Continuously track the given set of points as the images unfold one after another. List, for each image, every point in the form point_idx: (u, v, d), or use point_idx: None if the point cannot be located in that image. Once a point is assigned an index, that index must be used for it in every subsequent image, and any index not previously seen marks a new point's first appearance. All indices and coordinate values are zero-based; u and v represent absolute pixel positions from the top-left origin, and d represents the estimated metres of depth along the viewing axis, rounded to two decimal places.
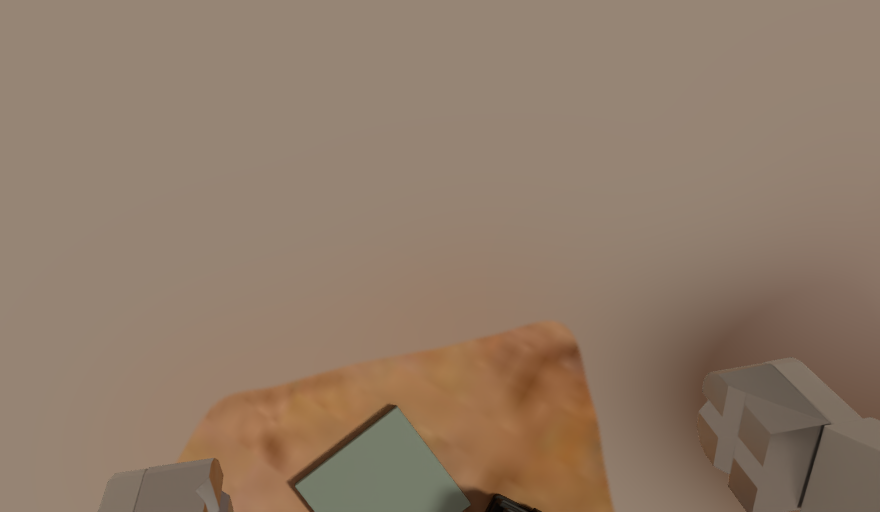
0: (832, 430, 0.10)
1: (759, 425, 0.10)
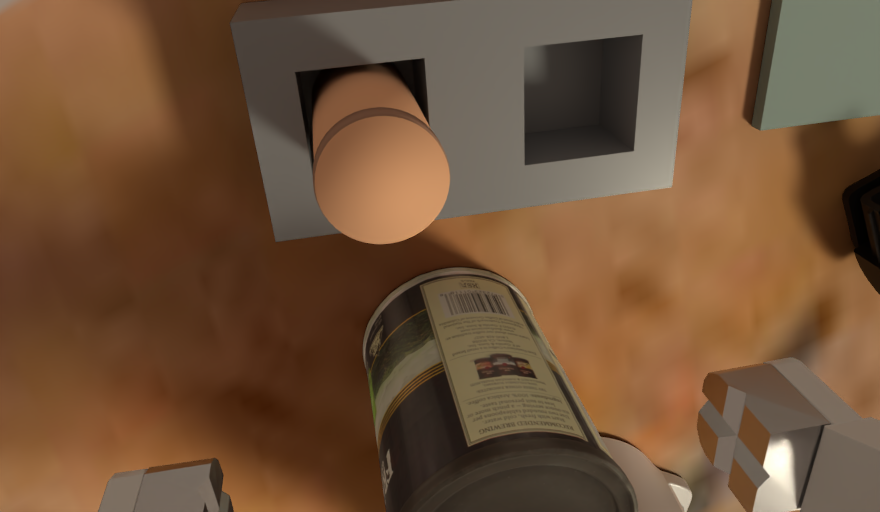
0: (832, 430, 0.10)
1: (759, 425, 0.10)
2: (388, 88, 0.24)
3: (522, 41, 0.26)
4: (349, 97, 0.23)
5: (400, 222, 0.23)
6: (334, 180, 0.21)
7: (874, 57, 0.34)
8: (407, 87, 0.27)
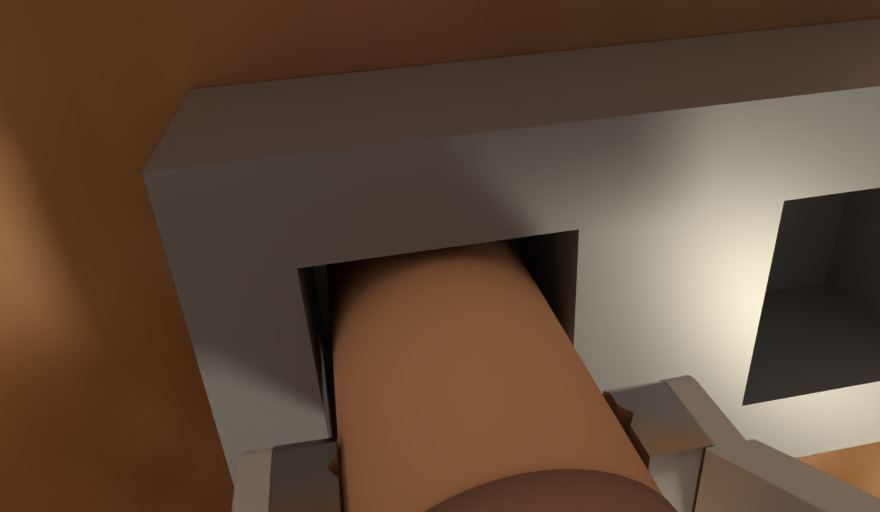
0: (713, 453, 0.09)
1: (642, 447, 0.10)
2: (520, 330, 0.10)
3: (783, 189, 0.12)
4: (434, 375, 0.09)
5: None
6: None
7: None
8: (528, 272, 0.13)
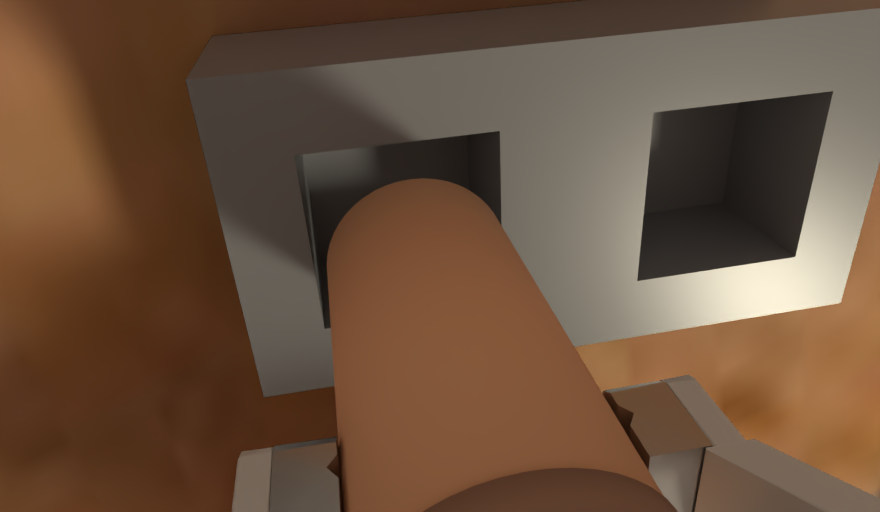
0: (713, 453, 0.09)
1: (642, 447, 0.10)
2: (520, 329, 0.10)
3: (652, 103, 0.17)
4: (434, 375, 0.09)
5: None
6: None
7: None
8: (528, 272, 0.13)
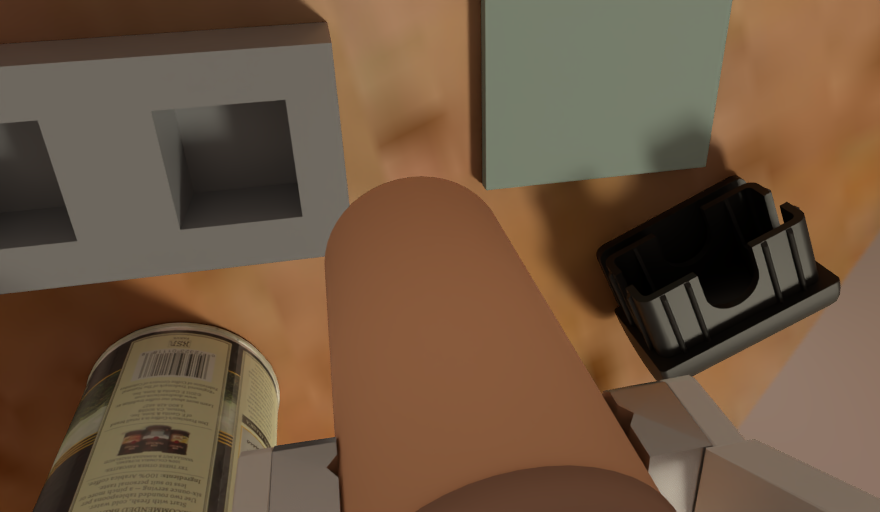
0: (713, 453, 0.09)
1: (642, 447, 0.10)
2: (517, 327, 0.10)
3: (147, 105, 0.25)
4: (431, 372, 0.09)
5: None
6: None
7: (598, 119, 0.33)
8: (526, 270, 0.13)
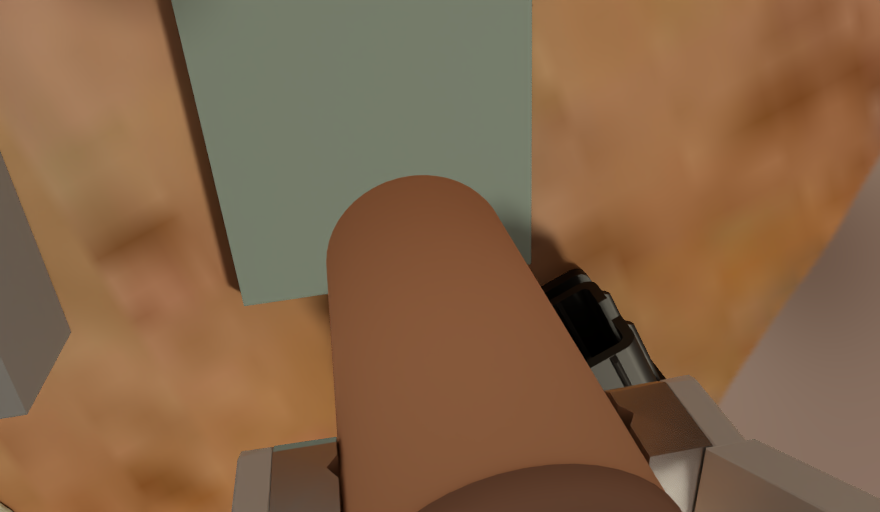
0: (713, 452, 0.09)
1: (642, 447, 0.10)
2: (520, 325, 0.10)
3: None
4: (434, 371, 0.09)
5: None
6: None
7: None
8: (528, 268, 0.13)
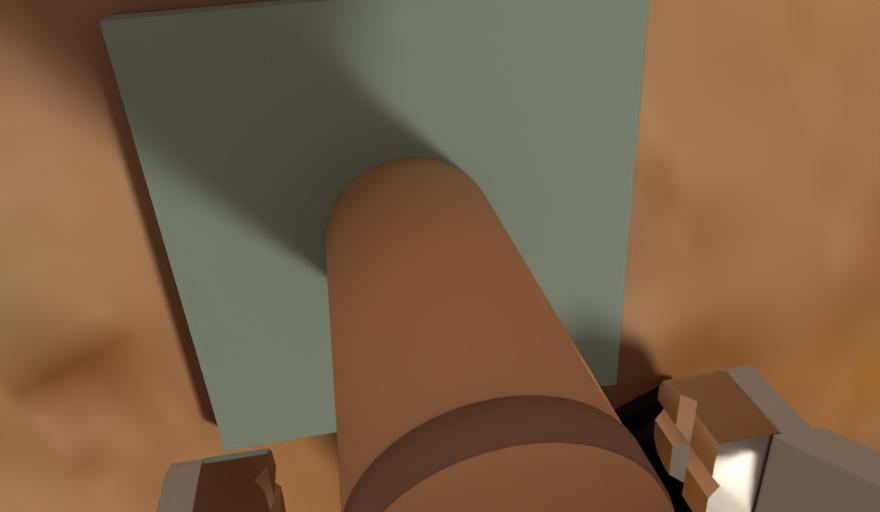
0: (781, 440, 0.10)
1: (708, 434, 0.10)
2: (499, 286, 0.11)
3: None
4: (420, 323, 0.10)
5: None
6: None
7: None
8: (511, 241, 0.14)
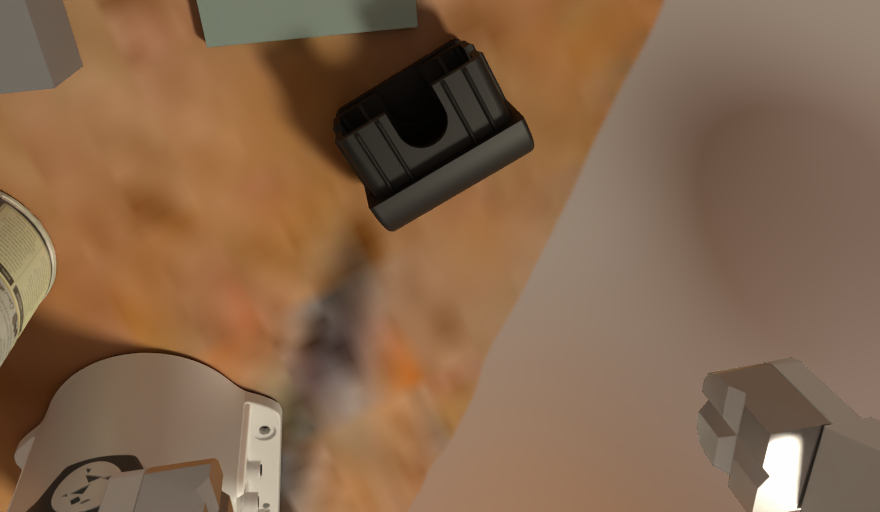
0: (832, 430, 0.10)
1: (759, 425, 0.10)
2: None
3: None
4: None
5: None
6: None
7: None
8: None
